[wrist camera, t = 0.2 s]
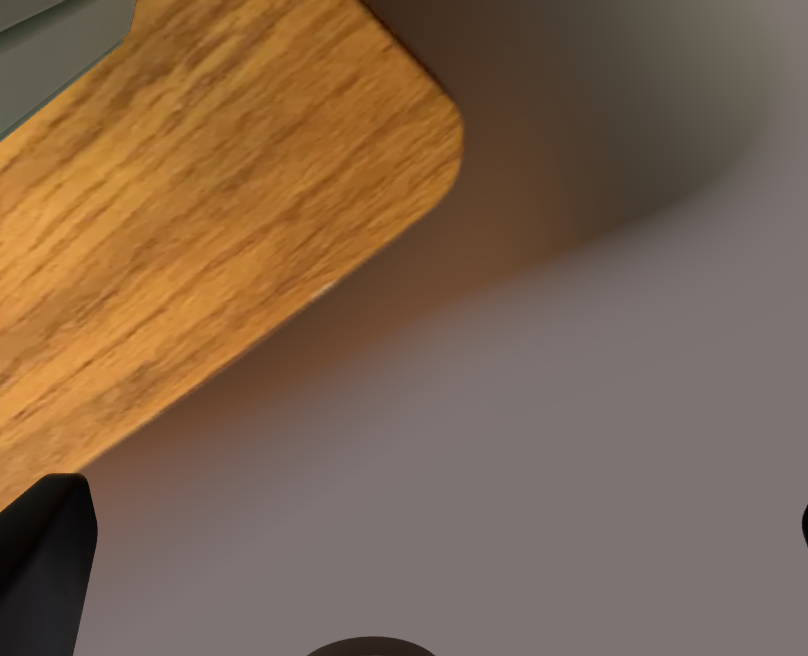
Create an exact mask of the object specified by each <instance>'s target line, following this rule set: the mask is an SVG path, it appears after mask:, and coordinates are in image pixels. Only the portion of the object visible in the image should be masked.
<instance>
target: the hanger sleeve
mask: <svg viewBox="0 0 808 656" xmlns="http://www.w3.org/2000/svg"><path fill="white" fill-rule="evenodd" d="M135 5H136V0H0V142H1V141H2V140H4V139H5V138H6V137H7V136H9V135H10V134H11V133H12V132H14V131H15V130H16V129H17V128H19V127H20V126H21V125H22V124H24V123H25V122H26V121H27V120H28V119H30V118H31V117H32V116H33V115H35V114H36V113H37V112H38V111H40V110H41V109H42V108H43V107H45V106H46V105H47V104H48V103H50V102H51V101H52V100H53V99H55V98H56V97H57V96H58V95H59V94H61V93H62V92H63V91H64V90H66V89H67V88H68V87H69V86H71V85H72V84H73V83H74V82H76V81H77V80H78V79H79V78H81V77H82V76H83V75H84V74H86V73H87V72H88V71H89V70H90V69H92V68H93V67H94V66H95V65H97V64H98V63H99V62H100V61H102V60H103V59H104V58H105V57H107V56H108V55H109V54H110V53H112V52H113V51H114V50H115V49H117V48H118V47H119V46H120V45H121V44H123V39H122V38H123V37H125V36H126V35H127V34H128V33H129V32H130V29H131V24H132V19H133V15H134V10H135Z"/></svg>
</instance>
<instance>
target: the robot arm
mask: <svg viewBox="0 0 808 656" xmlns="http://www.w3.org/2000/svg"><path fill="white" fill-rule="evenodd" d="M802 530H803V535H804V538H805V541H806V543H807V546H808V505H807V507H806V509H805V511H804V514H803V518H802ZM97 535H98V528H97V520H96V516H95V511H94V507H93V502H92V498H91V493H90V489H89V485H88V482H87V479H86V478H85V476H84V475H82V474H79V473H52V474H48V475H45V476H44V477H42V478H41V479H40V480H38V481H37V482H36V483H35V484H34V485H32V486H31V487H30V488H29V489H28V490H26V491H25V492H24V493H23V494H22V495H20V496H19V497H18V498H17V499H16V500H14V501H13V502H12V503H11V504H10V505H8V506H7V507H6V508H5V509H4V510H2V511H1V512H0V656H73V652H74V648H75V643H76V639H77V634H78V629H79V624H80V619H81V615H82V610H83V605H84V601H85V596H86V591H87V586H88V582H89V577H90V572H91V568H92V562H93V558H94V553H95V549H96V543H97Z"/></svg>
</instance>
